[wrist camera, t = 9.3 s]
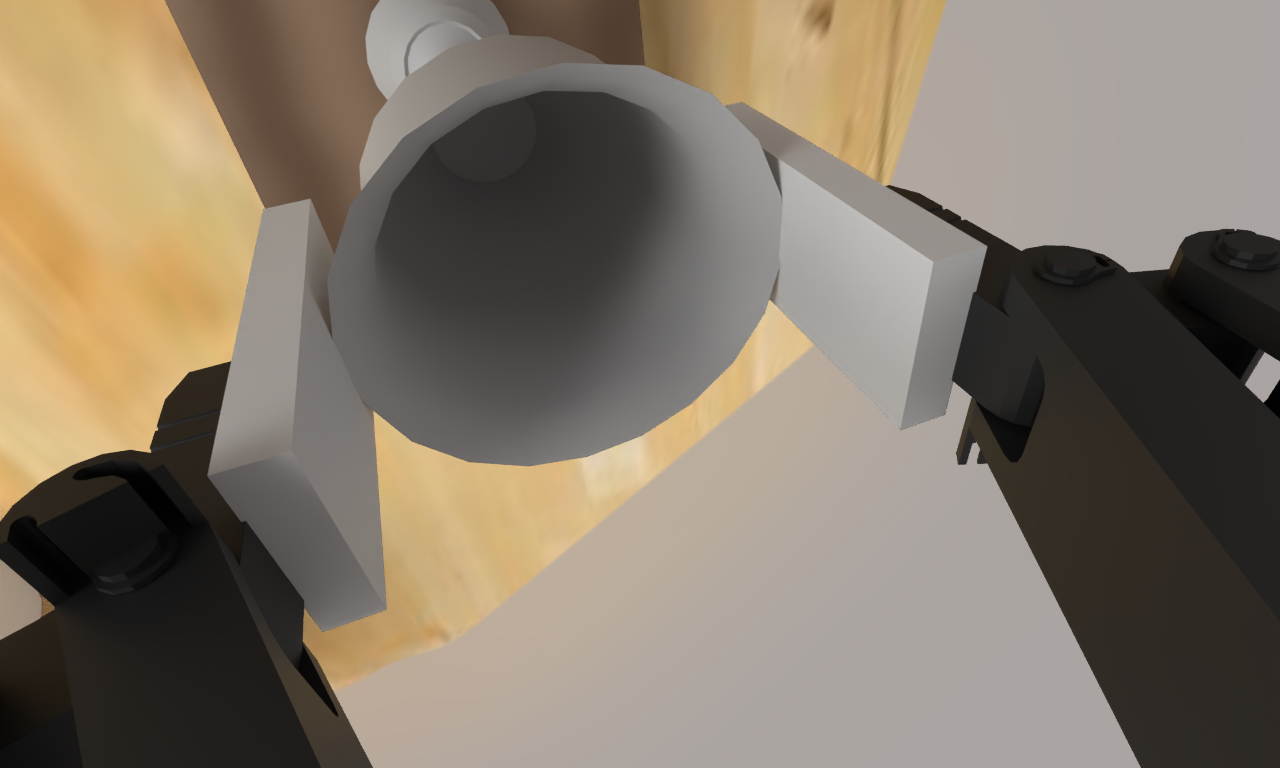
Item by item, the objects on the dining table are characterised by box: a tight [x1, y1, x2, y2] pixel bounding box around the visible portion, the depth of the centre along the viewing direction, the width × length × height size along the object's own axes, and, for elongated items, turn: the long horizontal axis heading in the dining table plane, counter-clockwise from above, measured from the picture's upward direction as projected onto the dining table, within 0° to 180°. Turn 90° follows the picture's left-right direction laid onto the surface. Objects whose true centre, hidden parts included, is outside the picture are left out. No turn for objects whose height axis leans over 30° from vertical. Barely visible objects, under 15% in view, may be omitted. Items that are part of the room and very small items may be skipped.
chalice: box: [327, 0, 782, 466], centre depth 17 cm, size 7×7×18 cm
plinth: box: [165, 0, 645, 254], centre depth 26 cm, size 16×16×3 cm
